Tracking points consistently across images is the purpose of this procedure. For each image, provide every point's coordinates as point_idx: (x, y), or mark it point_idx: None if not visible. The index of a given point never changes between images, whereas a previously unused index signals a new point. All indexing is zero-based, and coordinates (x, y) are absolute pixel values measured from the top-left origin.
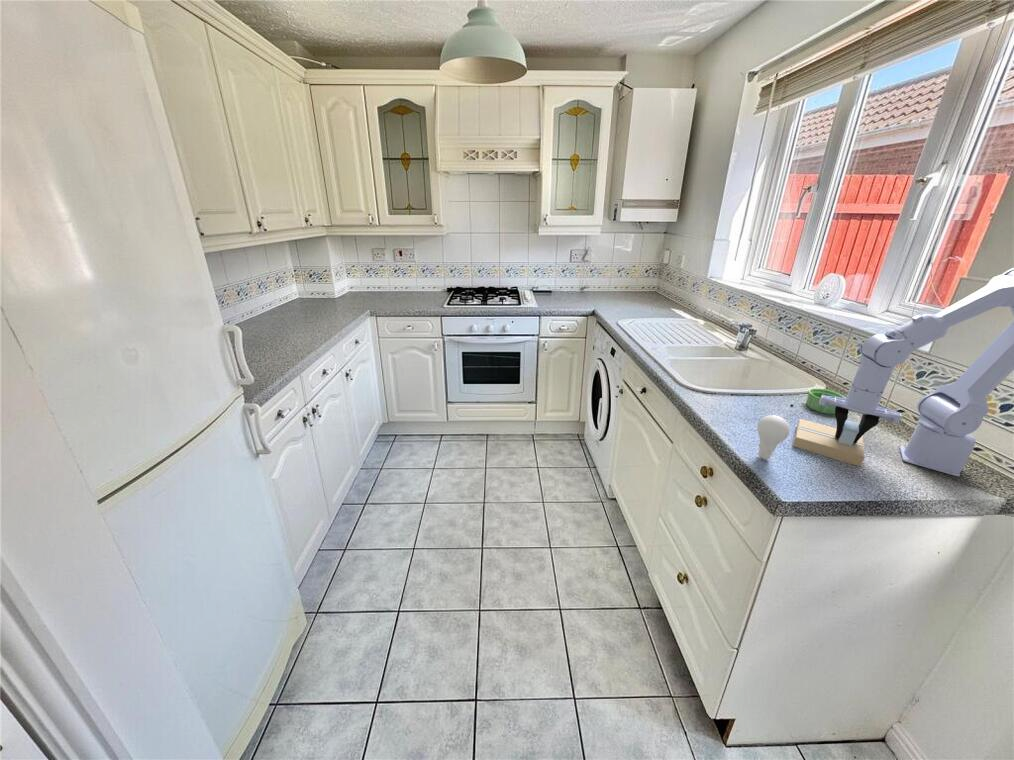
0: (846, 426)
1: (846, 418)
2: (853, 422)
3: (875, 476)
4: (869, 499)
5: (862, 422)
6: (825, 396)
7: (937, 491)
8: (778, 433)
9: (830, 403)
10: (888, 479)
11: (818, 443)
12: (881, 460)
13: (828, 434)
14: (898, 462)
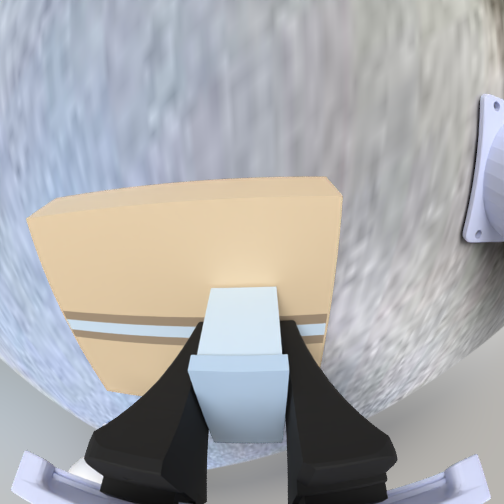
0: (222, 433)
1: (204, 488)
2: (255, 380)
3: (340, 384)
4: None
5: (289, 469)
6: (29, 496)
7: (460, 348)
8: None
9: (81, 494)
10: (370, 377)
11: None
12: (392, 279)
13: (171, 318)
14: (444, 252)
